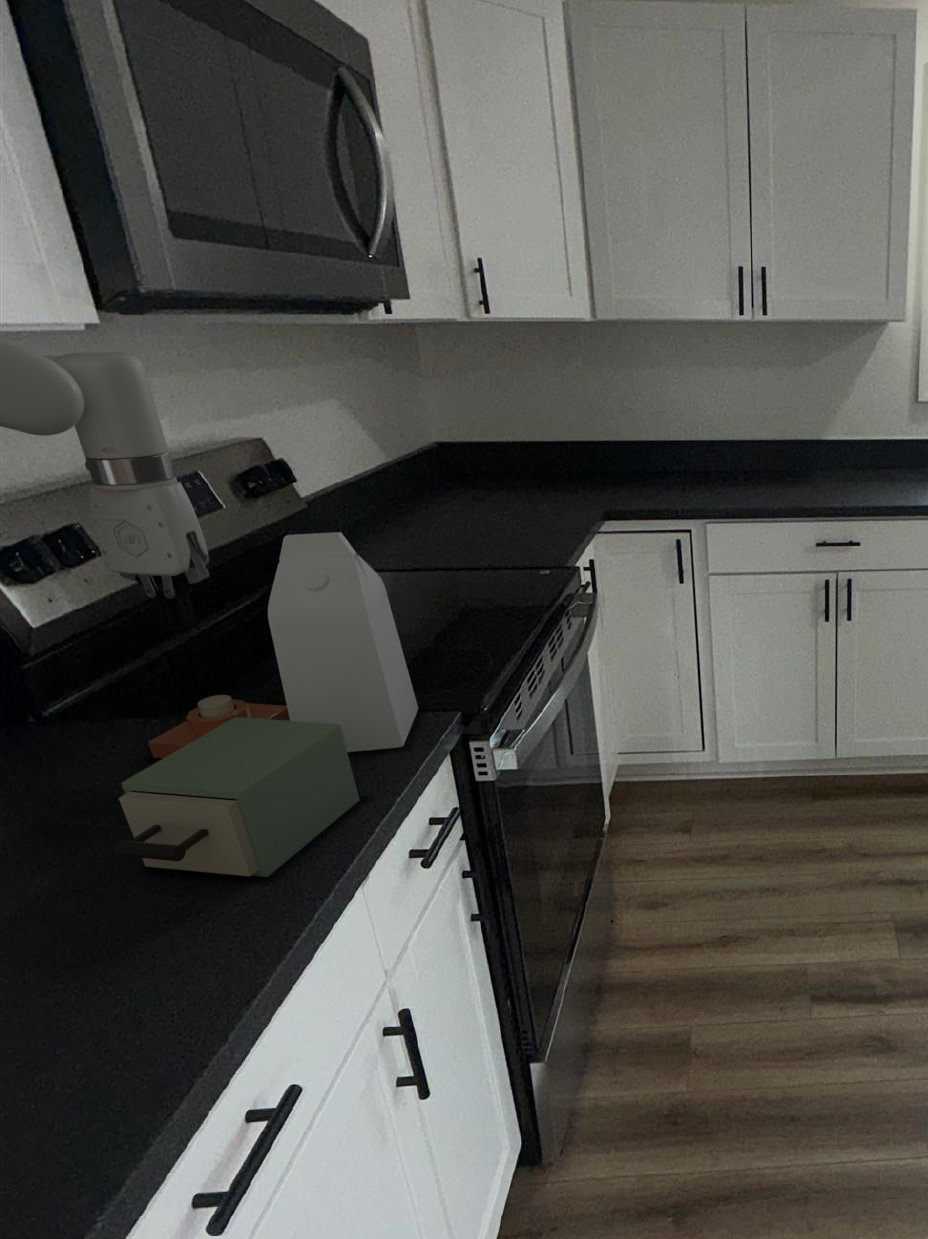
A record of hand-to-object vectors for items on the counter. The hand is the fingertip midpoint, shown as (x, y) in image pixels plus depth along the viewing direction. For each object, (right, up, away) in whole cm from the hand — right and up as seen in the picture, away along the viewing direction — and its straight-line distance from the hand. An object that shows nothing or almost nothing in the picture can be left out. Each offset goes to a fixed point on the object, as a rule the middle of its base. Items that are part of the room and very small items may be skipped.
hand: (180, 626), depth 105 cm
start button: (+1, -10, +6) cm, 12 cm away
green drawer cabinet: (+18, -23, -12) cm, 31 cm away
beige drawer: (+17, -24, -16) cm, 33 cm away
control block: (+1, -14, +7) cm, 16 cm away
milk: (+17, -13, +9) cm, 23 cm away
